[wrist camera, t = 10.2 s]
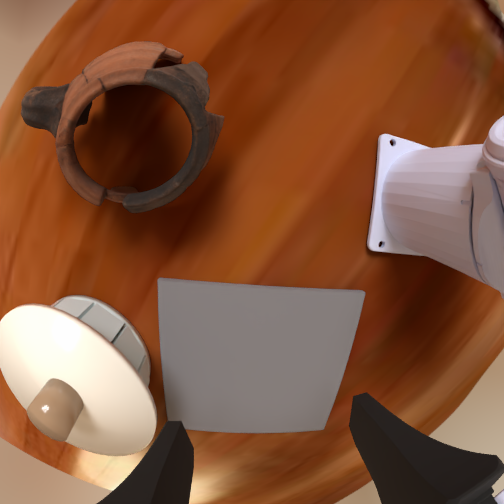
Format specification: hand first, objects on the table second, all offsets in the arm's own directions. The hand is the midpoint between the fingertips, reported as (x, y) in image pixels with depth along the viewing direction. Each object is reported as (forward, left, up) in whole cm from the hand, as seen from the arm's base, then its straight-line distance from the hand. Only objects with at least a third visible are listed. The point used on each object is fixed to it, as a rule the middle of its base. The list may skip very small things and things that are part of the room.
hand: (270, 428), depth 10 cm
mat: (0, +4, -9) cm, 10 cm away
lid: (+13, +4, -4) cm, 14 cm away
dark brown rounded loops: (+9, -13, -10) cm, 19 cm away
